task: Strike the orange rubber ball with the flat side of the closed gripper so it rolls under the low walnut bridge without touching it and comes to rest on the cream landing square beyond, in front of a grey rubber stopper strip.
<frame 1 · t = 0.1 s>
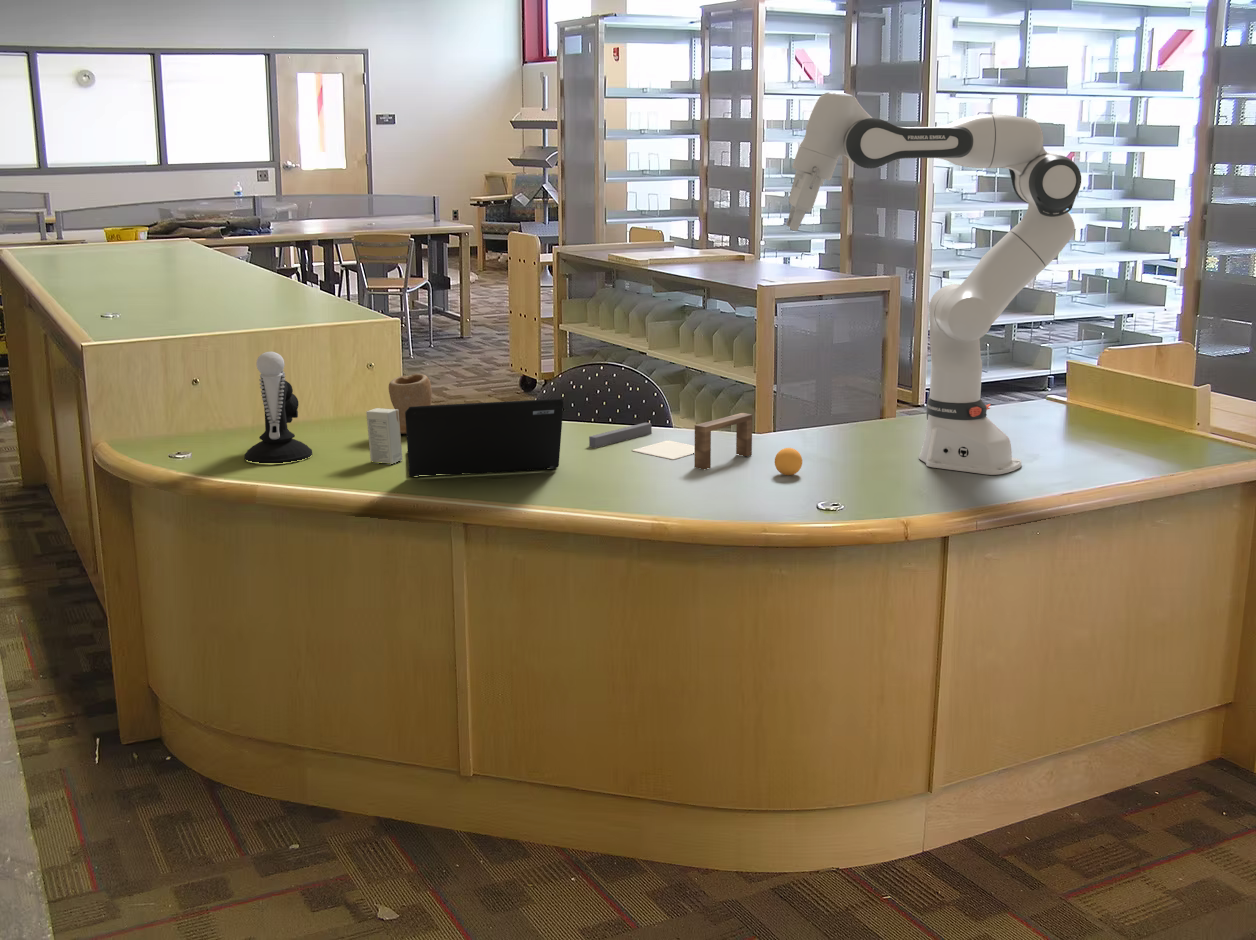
hand: (791, 228, 275), 52 cm above the table, tool tilted 20°, fingers open, 8 cm apart
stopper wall: (621, 439, 308), on the table
skincare box: (386, 462, 289), on the table
ball: (788, 461, 274), on the table
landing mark: (670, 450, 298), on the table
sculpture: (281, 453, 299), on the table
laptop: (482, 471, 283), on the table
stone cup: (420, 434, 317), on the table
bridge: (723, 461, 287), on the table
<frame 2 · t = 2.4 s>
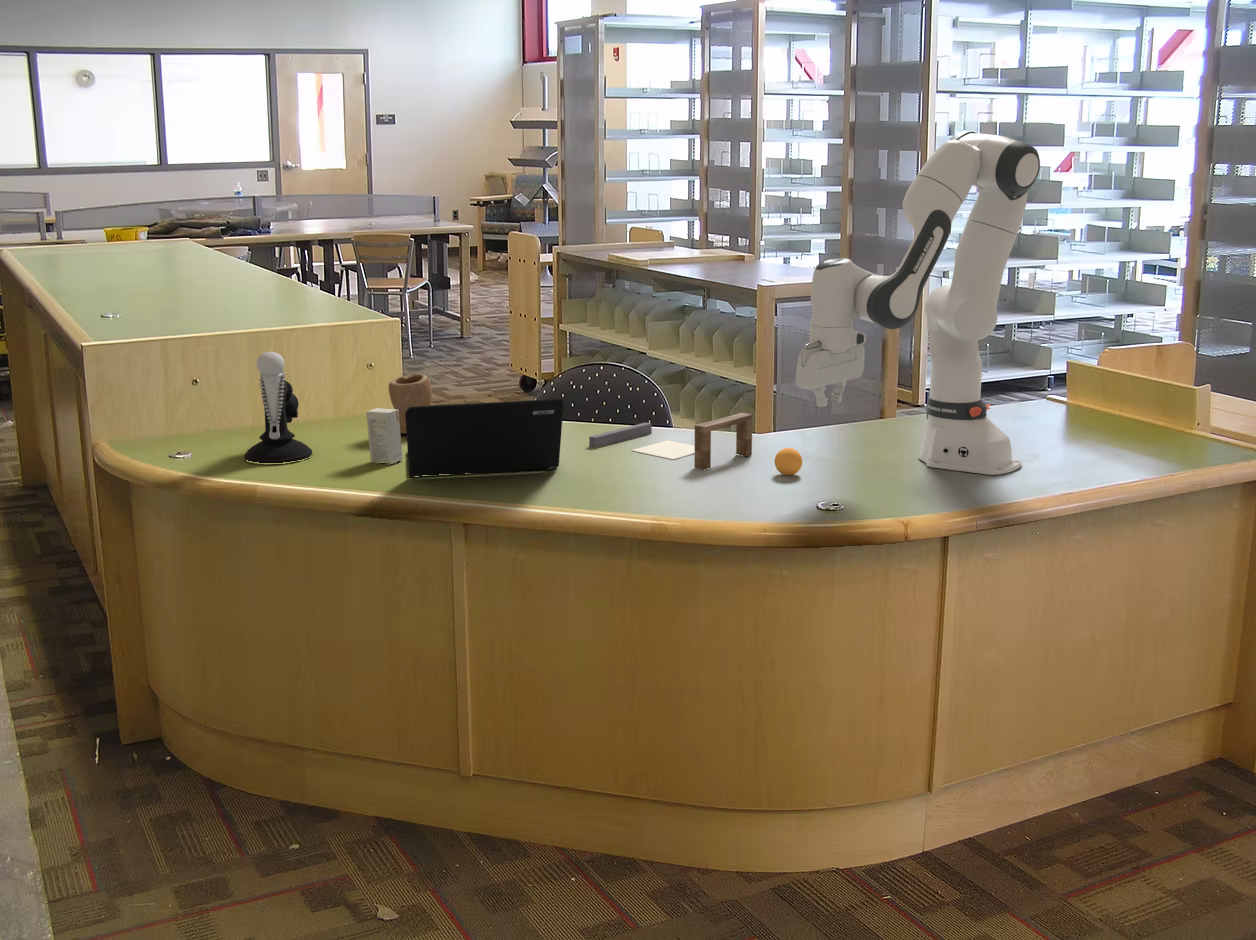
hand: (829, 404, 264), 17 cm above the table, tool pointing down, fingers open, 4 cm apart
nothing on the table moved.
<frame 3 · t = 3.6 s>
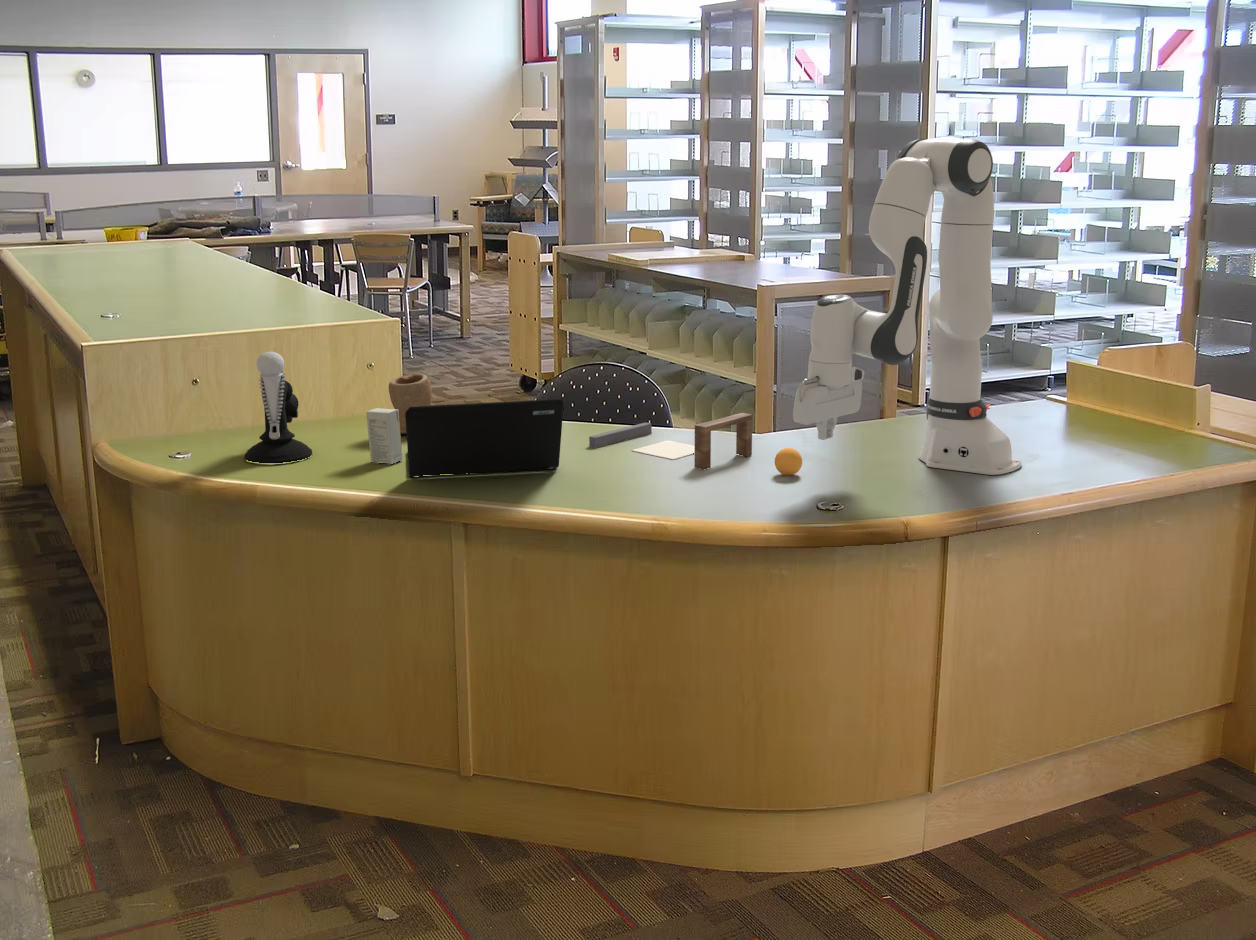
hand: (825, 438, 266), 10 cm above the table, tool pointing down, fingers closed
nothing on the table moved.
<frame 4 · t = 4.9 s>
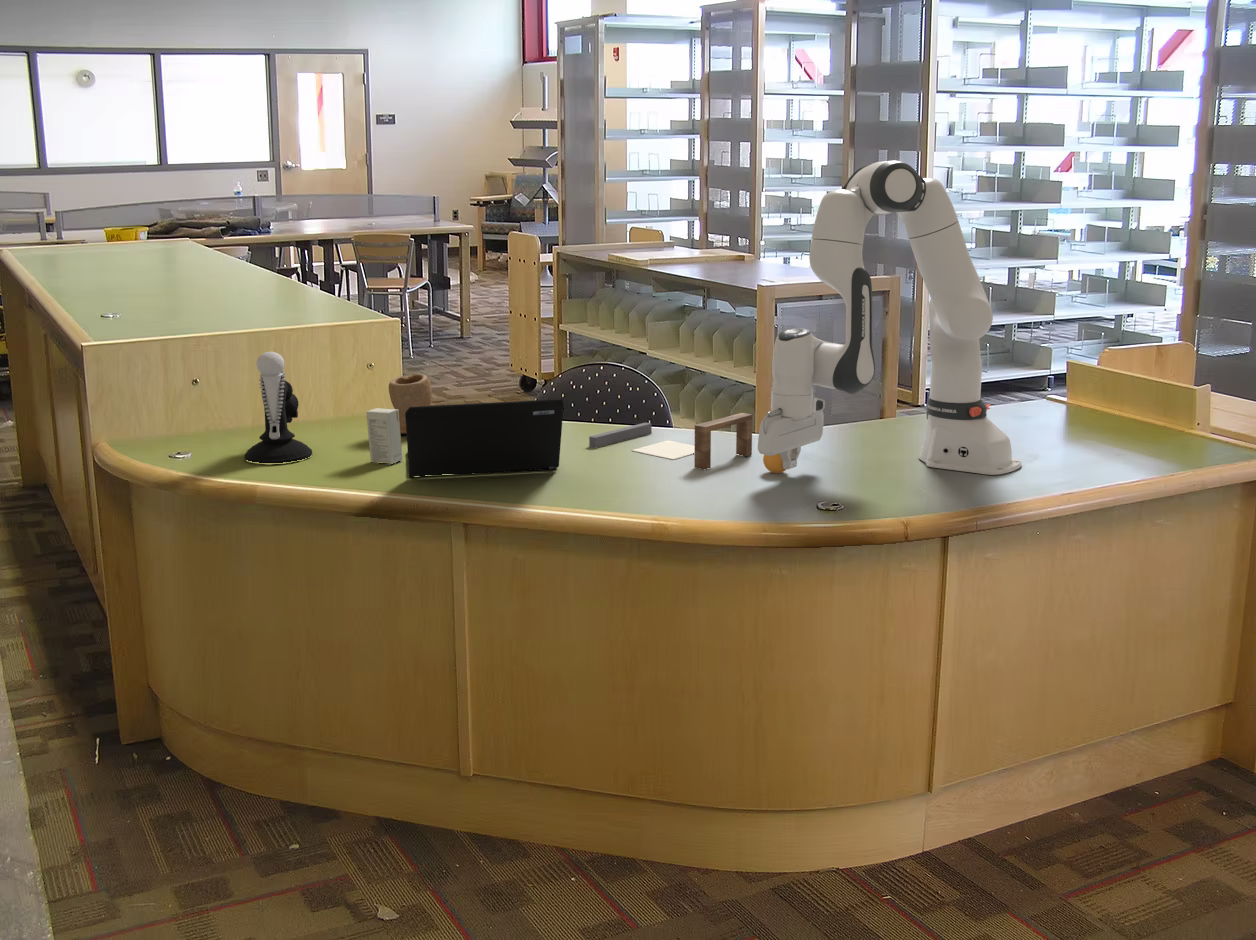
hand: (789, 467, 273), 2 cm above the table, tool pointing down, fingers closed
ball: (776, 459, 276), on the table
everything else where it was.
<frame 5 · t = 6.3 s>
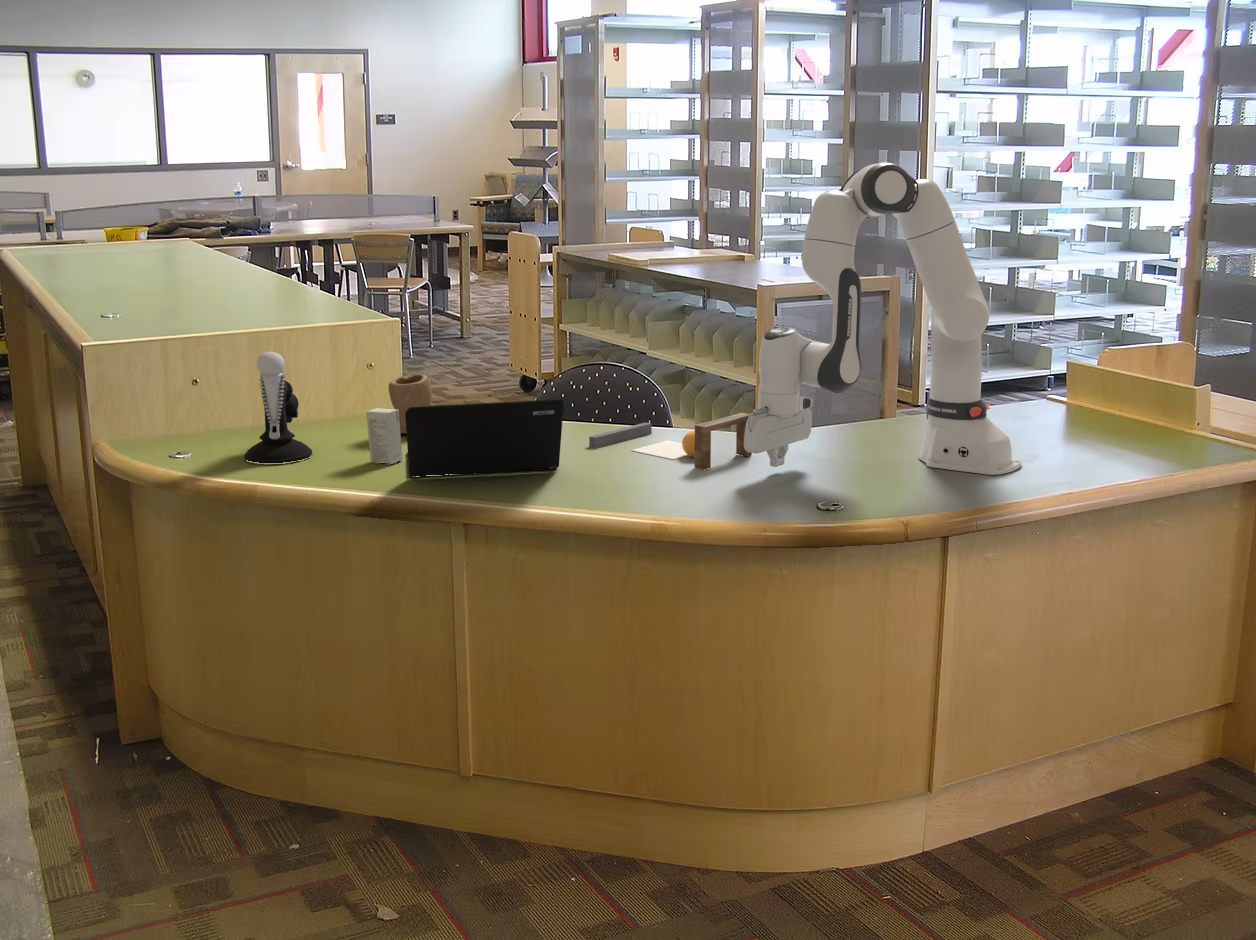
hand: (777, 465, 277), 2 cm above the table, tool pointing down, fingers closed
ball: (695, 443, 291), on the table
everything else where it was.
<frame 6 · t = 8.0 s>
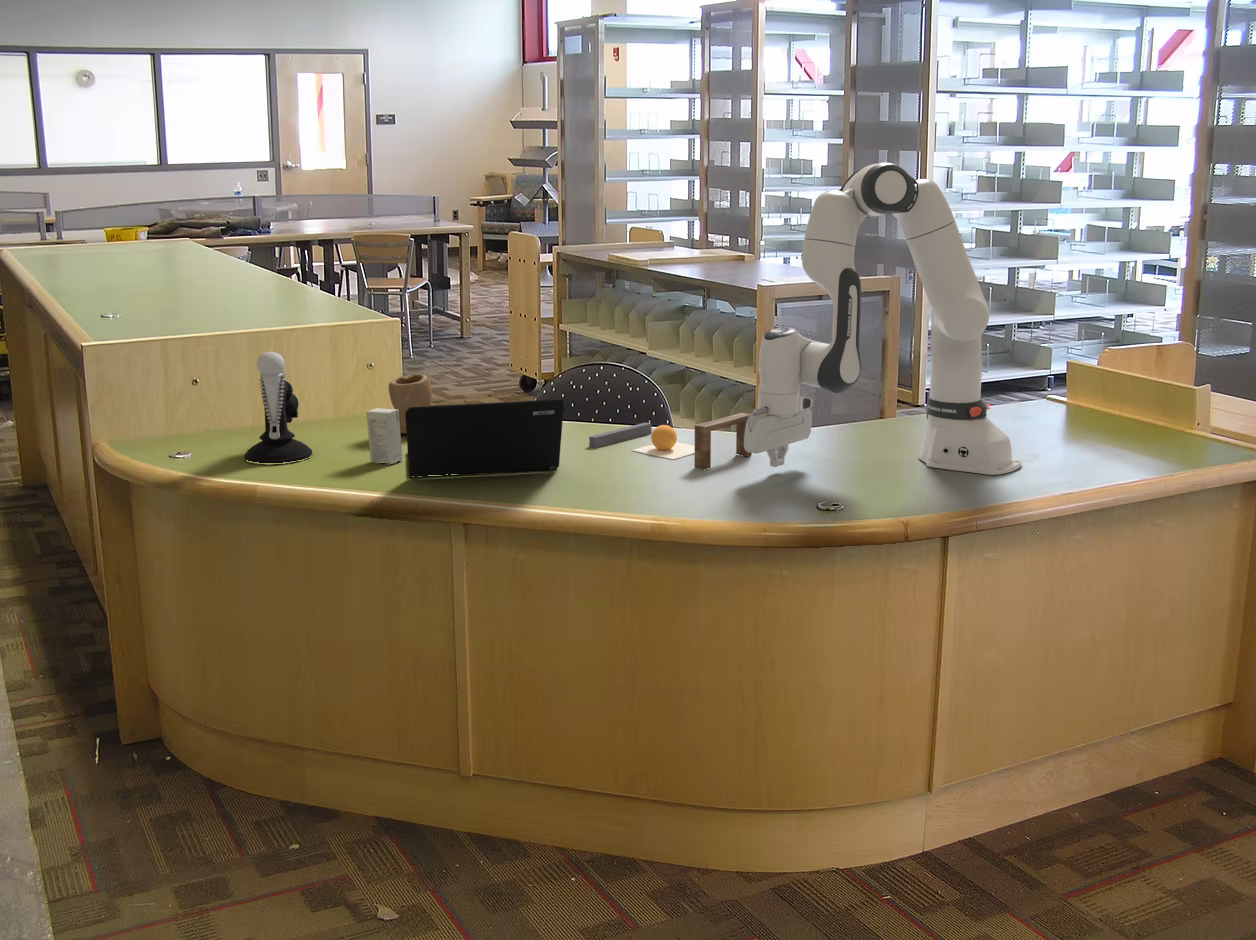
hand: (777, 465, 277), 2 cm above the table, tool pointing down, fingers closed
ball: (663, 437, 297), on the table
everything else where it was.
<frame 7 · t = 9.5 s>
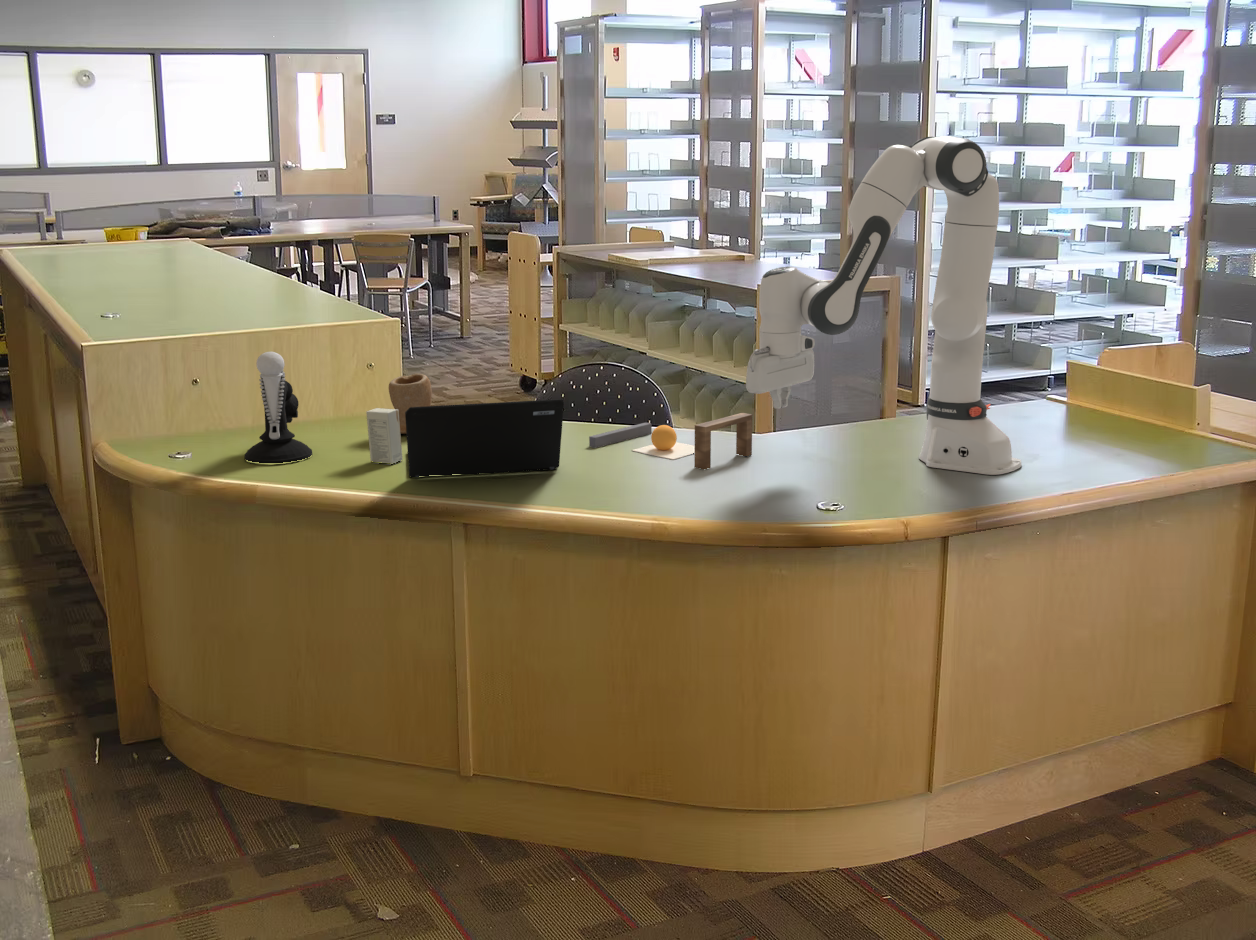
hand: (780, 407, 273), 15 cm above the table, tool pointing down, fingers closed
nothing on the table moved.
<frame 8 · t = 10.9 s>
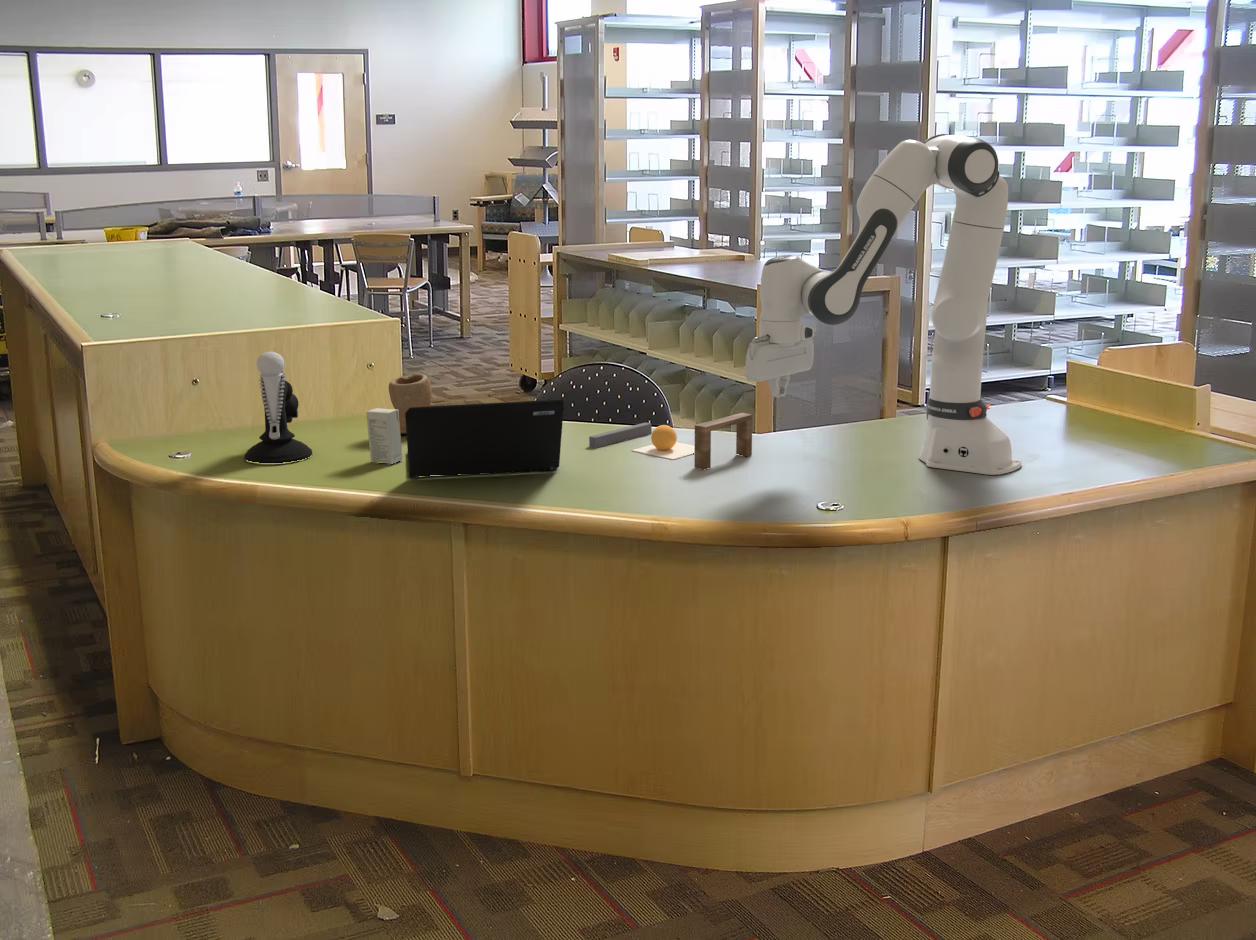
hand: (778, 396, 273), 17 cm above the table, tool pointing down, fingers closed
nothing on the table moved.
at the end: ball 1.6 cm from the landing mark (horizontally); ball never touched bridge; ball at rest at the end (0.0 cm/s) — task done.
